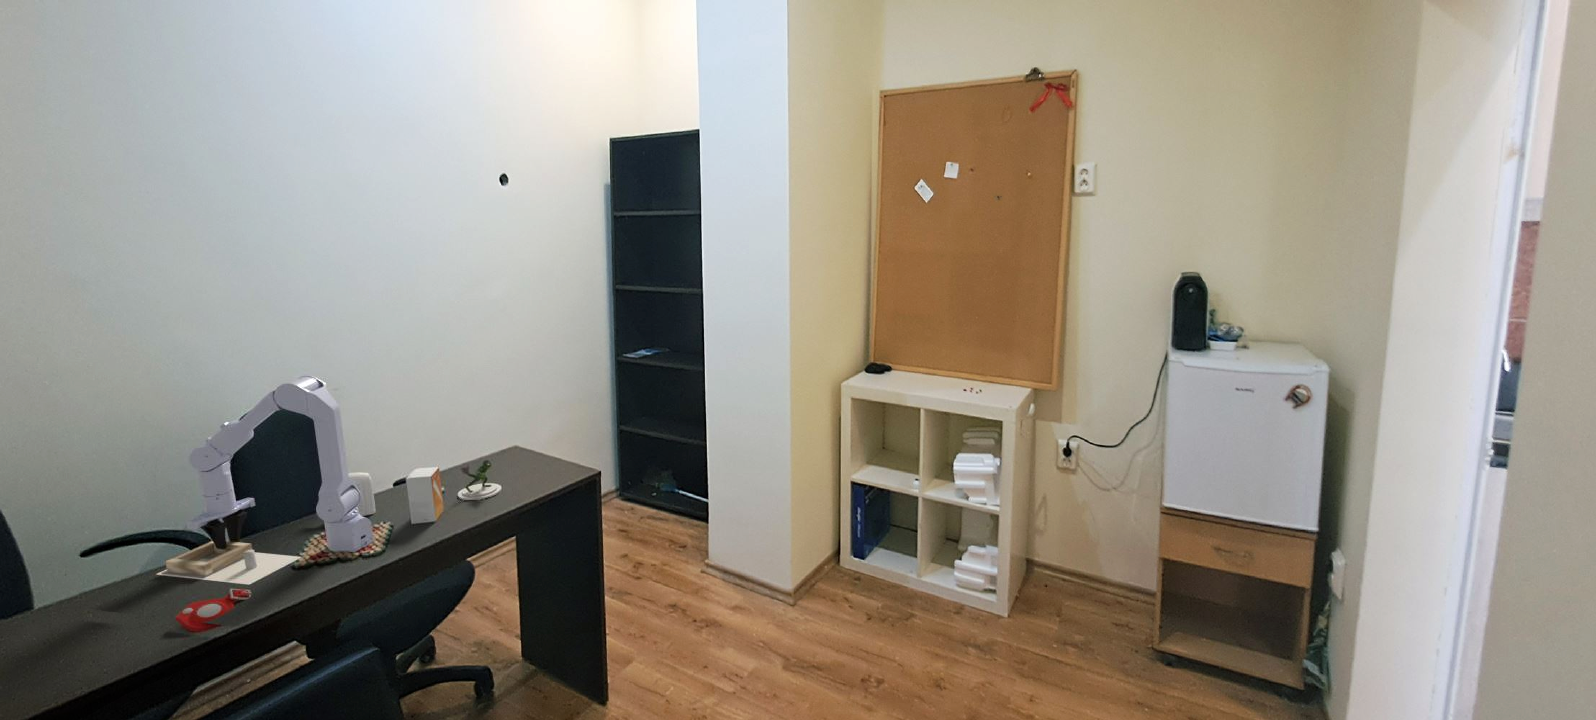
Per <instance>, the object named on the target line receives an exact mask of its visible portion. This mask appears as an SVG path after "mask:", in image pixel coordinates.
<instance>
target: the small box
mask: <svg viewBox="0 0 1596 720" xmlns="http://www.w3.org/2000/svg"><path fill="white" fill-rule="evenodd" d="M440 472H441V471H440V466H433V467H419V468H415V469H414V470H413V471H411V473H409V475H408V476H406V478H405V483H406V489H407V490H406V491H407V498H408V505H409V513H410V521H411V524H412V525H413V524H414V525H415V524H425V523H432V522H433V523H434V522H437V521H438V519H439V517H440V516H441V515H442V513H444V510H445V509H444V507H445V506H444V500H443V491H442V490H443V489H442V482H441V481H442V480H441V473H440Z"/></svg>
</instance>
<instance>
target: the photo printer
mask: <svg viewBox="0 0 1596 720" xmlns="http://www.w3.org/2000/svg"><path fill="white" fill-rule="evenodd" d="M348 476H349V477H351V478H353V479H355V483H356V486H357V488H358V489H359V491H360V492H361V500H360V502H359V504H358V505H357V507H358V511H359V514H360V515H361V516H362V517H365V516H369V515H374V514H375V513H376V502H375V496H374V488H373V487H374V485H373V480H372V478H371V476H370V474H369V473H368V472H348Z"/></svg>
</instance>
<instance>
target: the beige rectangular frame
mask: <svg viewBox="0 0 1596 720" xmlns="http://www.w3.org/2000/svg"><path fill="white" fill-rule="evenodd" d="M226 544H227V547H226V548H225V549H217V548H216V546H215V544H214V542H213V541H212V540H211V541H208V542H207V543H204V544H202V545H199V546H198V547H195V548H193V549H191V550H189V551H186V552H184V553H182V554H179V555H177V556H175V557H172V558H170V559H168V560H166V561H165V566H166V569H167V572H177V573H186V574H195V575H205V576H207V575H209V574H211V573H213V572H215V571H217V570H219V569H221V568H223V567H225V566H227V565H230V564H232V563H234V562H236V561H238V560H240V559H242V558H244V555H243V552H245V551H247V550H253V546H252V543H251V542H250V543H248V542H230V541H229V540H226ZM213 553H223V554H222V555H220V556H218V557H215V558H213V559H211V560H209V561H207V562H201V561H198V560H200V559H202V558H204V557H207V556H209V555H211V554H213Z"/></svg>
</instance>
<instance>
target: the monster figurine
mask: <svg viewBox="0 0 1596 720" xmlns="http://www.w3.org/2000/svg"><path fill="white" fill-rule="evenodd" d="M491 462H492V461H490V460H488V459H485V460H484V461H483V462H482V464H481V463H480V465H476V467H478V468H477V469H476V471H475V472H473V473H469V472H470V471H469V470H470V466H469V465H467V466H466V467H465V466H464V467H462V466H460V470H461V472H462V473H463V474H465V475H467V476H469V477H470V478H472V479H473V478H474V479H473V480H471V481H470V482H469V483H468V484H467V485H466V486H465V487H464V488H463V489H460V491H458V493H457V498H458V497H459V498H460V499H464V500H473V499H484V498H486V497H491V496H493V495H495V494H497V493H498V492H499V491H501V489H503V487H502V486H501V484H498V483H489V482H488V483H487V481H488V477H487V476H486V474H487V471H488V470H489V469H490V468H492V463H491ZM478 481H481V482H482V483H477V484H475V483H476V482H478ZM501 492H502V491H501ZM459 498H458V499H459ZM491 498H492V497H491ZM460 499H459V500H460ZM464 500H463V501H464ZM484 500H485V499H484Z"/></svg>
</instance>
